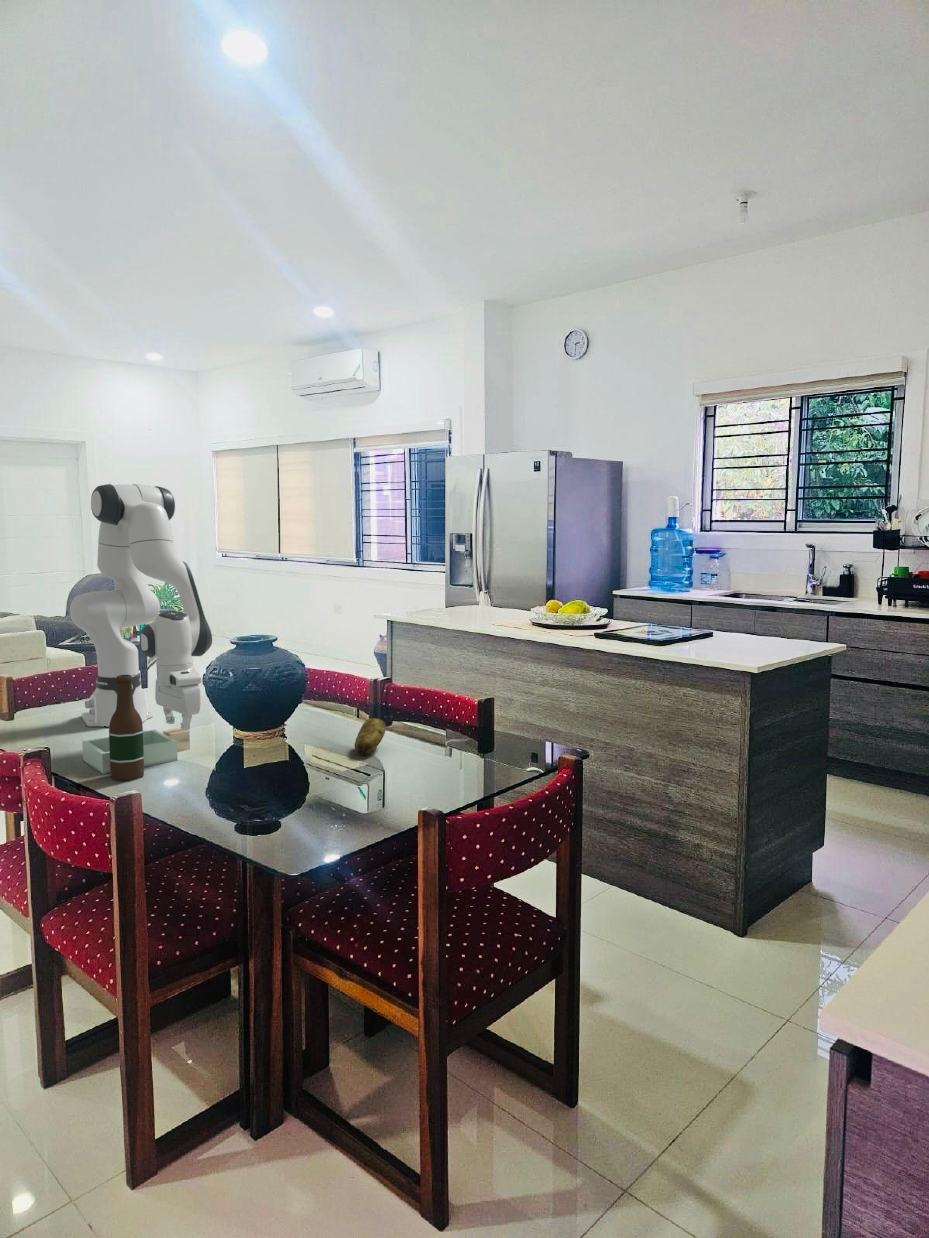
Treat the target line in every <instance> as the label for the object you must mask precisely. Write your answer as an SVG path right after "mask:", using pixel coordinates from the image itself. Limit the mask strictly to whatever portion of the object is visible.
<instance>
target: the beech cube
mask: <svg viewBox="0 0 929 1238" xmlns="http://www.w3.org/2000/svg"><path fill="white" fill-rule="evenodd" d="M162 734H164V735H166V736H168V737H170V738H172V739H174V740H176V741H177V753H178V752H183V751H188V750H189V751H190V749H191V744H190V743H191V742H190V730H182V729H181V727H175V728H169V729H164V730H162Z"/></svg>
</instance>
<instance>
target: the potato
mask: <svg viewBox="0 0 929 1238" xmlns="http://www.w3.org/2000/svg"><path fill="white" fill-rule="evenodd" d="M386 728H387V725H386V722H385V721H384V720H382V719H381V718H377V717H376V718H375V717H372V718H368V719H366V720H365V721H364V722H363V724H362V726H361V727H360V729H359V731H358V732H357V737H356V738H355V741H354V750H355V752H356V753H357V754H359V755H361V756H363V755H364V756H367V755H370V754H372V753H373V752H374V750H375V749H376V748H377V747H378V746H379V744H380V743H381V742H382V740H383V738H384V736H385V734H386Z"/></svg>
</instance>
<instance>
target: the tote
mask: <svg viewBox="0 0 929 1238" xmlns="http://www.w3.org/2000/svg"><path fill="white" fill-rule="evenodd" d="M143 748H144V768H145V767H150V766H155V765H159V764H166V763H171V762H177V761H178V752H177V741H176V740H174V739H172V738H170V737H168V736H166V735H164V734H163V732H160V731H158V730H156V729H149V730H143ZM82 759H83V760H84V761H85V762H86V763H85V762H84V761H83V760H82V761H83V762H84V763H85V764H87V763H88V764H89V765H88V764H87V765H88V766H90V767H91V768H92V769H94V770H96V771H97V770H98V771H99V772H98V771H97V772H98V773H100V774H101V773H102V774H101V775H107V773H108V774H111V772H110V748H109V736H108V737H107V736H106V737H102V738H94V739H88V740H83V741H82Z"/></svg>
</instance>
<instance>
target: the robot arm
mask: <svg viewBox="0 0 929 1238" xmlns="http://www.w3.org/2000/svg"><path fill="white" fill-rule="evenodd" d="M90 509H91V512H92V515H93V516H94V517H95V518H96V520H98V522H100V525H99V531H98V541H97V569H98V570H99V572H100V573H101V574H102V575H104V576H105V577H106V578H109V579H111V580H113V584H114V589H113V590H99V591H98V590H96V591H93V590H92V591H89V592H85V593H82V594H79V595H76V596H75V597H74V598H73V600H72V601H71V603H70V605H69V616H70V619H71V621H72V622H73V624H74V625H75V626H76V627H77V628H79V629H81V631H83V632H85V633H86V634H87V636H88V637H89V638H90V640H91V641H92V643H93V645H94V649H95V653H96V662H97V676H96V679H95V687H96V688H95V690H94V691H93V692H92V694H91V695H90V696H89V699H88V700H85V701H84V707H85V709H89V710H88V711H87V710H86V711H84V712H82V713H81V718H82V720H83V722H84V724H85V723H86V724H85V725H87V727H104V726H106V727H108V728H109V725H110V721H111V718H112V715H113V714H114V712H115V711H116V706H117V682H116V678H117V676H119V675H131V676H132V679H133V680H132V681H131V683H132V693H133V703H134V707H135V709H136V711H137V712H138V713H139V715H140V717H141V719H142V723H144V722H146V721H147V720H148V719H151V718H152V717H153V713H152V712H148V702H147V701H148V700H147V691H146V690H144V689H143V688H142V687H141V685H142V677H141V676H142V675H141V672H140V667H139V666H140V664H139V649H138V648H137V646H136V645H135V644H134V643H133V642H132V641H129V639H125V638H123V637H122V635H121V631H120V628H128V627H138V626H142V625H145V624H146V625H145V626H144V627H143V628H142V629H141V631H139V648H140V652H142V653H143V654H144V655H145V656H146V657H148V658H151V659H157V663H156V669H157V673H156V674H157V678H156V680H155V685H154V686H155V688H154V689H155V690H154V692H155V693H154V694H155V696H154V697H155V702H156V703H155V704H156V705H158V706H161V707H162V708H163V709H162V710H163V714H164V716H165V724H168V725H173V724H175V721H176V720H175V718H176V717H175V716H174V712H176V713H179V714H181V718H182V721H181V723H180V726H181V727H180V728H181V729H182V730H188V731H190V730H191V721H192V719H193V715H198V714H199V713H200V711H201V687H200V685H199V684H201V683H202V675H200V674H199V673H198V671H197V670H196V668H195V666H194V659H193V657H202V656H203V655H205V654H206V652H208V651H209V649H210V648H211V647H212V644H213V634H212V630H211V628H210V625H209V623H208V621H207V619H206V616H205V612H204V610H203V605H202V602H201V599H200V597H199V596H200V595H199V593H198V588H197V586H196V582H195V580H194V576H193V573H192V570H191V568H190V566H189V564H188V563H187V562H185V561H183V560H182V559H181V558H180V556H179V555H178V553H177V551H176V549H175V545H174V536H173V532H172V526H171V522H170V520H171V519H172V518H173V517H174V515H175V512H176V501H175V497H174V495H173V493H172V492H171V491H170V490H169V489H167V488H165V487H161V486H156V485H155V486H150V485H145V484H136V483H133V484H110V483H109V484H100V485H97V486H96V487H95V488H94V490H93V491H92V493H91V497H90ZM142 574H143V575H145V576H147V577H149V578H152V579H155V580H158V581H161V582H164V583H167V584H168V585H170V586H172V587H173V588H175V589H176V591H177V592H178V594H179V597H180V602H181V606H182V609H183V611H184V612H182V611H179V610H178V611H176V610H167V611H166V610H165V611H162V612H160V611H161V604H160V600H159V598H158V596H157V595H156V594H155V593H154V592H153V591H152V590H151V589H150V588H149V587H148V586H147V585H146V584H145V581H144V579H143V577H142Z"/></svg>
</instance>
